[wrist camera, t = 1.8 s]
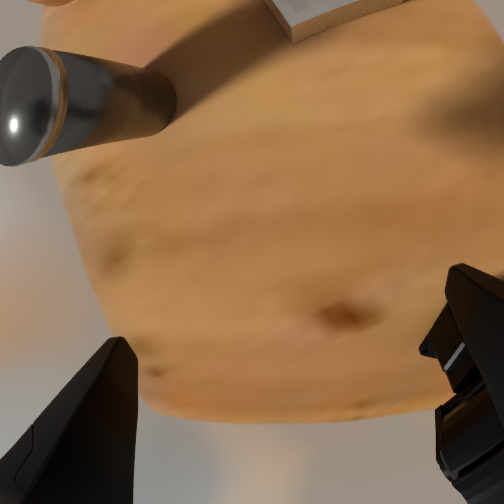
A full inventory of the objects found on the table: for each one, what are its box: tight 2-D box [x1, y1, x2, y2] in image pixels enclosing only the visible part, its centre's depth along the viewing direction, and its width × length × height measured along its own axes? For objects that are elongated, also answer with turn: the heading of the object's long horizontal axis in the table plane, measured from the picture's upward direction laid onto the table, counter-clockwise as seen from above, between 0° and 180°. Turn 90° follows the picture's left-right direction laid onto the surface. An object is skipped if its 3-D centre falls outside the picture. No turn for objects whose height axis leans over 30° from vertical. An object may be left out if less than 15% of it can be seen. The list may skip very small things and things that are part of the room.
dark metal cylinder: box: [0, 46, 176, 166], centre depth 12 cm, size 4×4×11 cm
